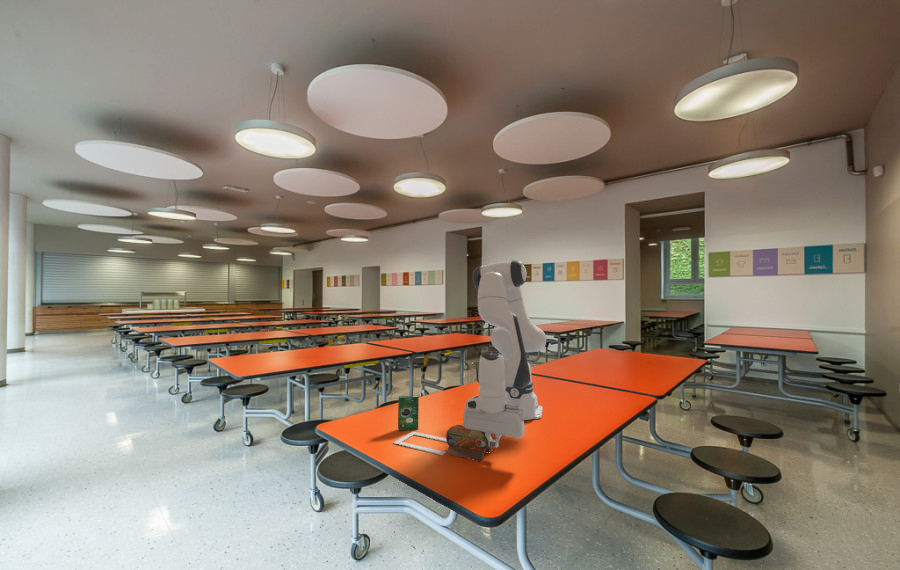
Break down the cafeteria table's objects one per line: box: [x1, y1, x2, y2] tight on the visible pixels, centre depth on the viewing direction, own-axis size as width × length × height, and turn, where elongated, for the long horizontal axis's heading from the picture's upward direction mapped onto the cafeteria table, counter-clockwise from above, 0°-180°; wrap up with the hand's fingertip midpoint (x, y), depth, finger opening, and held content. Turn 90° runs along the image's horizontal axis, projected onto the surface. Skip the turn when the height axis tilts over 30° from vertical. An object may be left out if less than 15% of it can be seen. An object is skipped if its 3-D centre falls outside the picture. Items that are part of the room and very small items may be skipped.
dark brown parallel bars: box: [447, 446, 492, 462], centre depth 115 cm, size 8×12×2 cm
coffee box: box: [397, 394, 420, 431], centre depth 138 cm, size 8×3×13 cm, turn 104°
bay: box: [393, 431, 447, 456], centre depth 124 cm, size 12×20×1 cm, turn 61°
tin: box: [445, 424, 489, 454], centre depth 116 cm, size 15×3×8 cm, turn 62°
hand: (493, 446), depth 111 cm, fingers closed
